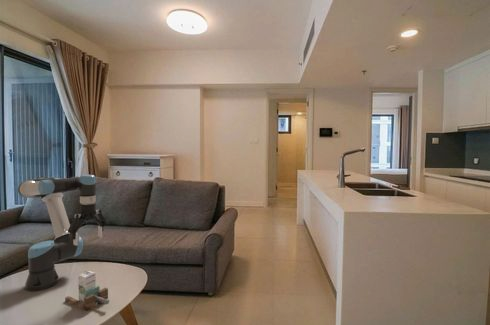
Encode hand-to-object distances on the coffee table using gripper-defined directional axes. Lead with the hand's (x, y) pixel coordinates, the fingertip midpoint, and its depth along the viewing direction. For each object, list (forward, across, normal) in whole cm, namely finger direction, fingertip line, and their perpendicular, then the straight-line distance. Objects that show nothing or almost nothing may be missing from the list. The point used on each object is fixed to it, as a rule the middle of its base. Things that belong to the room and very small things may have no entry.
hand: (88, 241), depth 149 cm
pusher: (+25, -8, -23) cm, 35 cm away
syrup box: (+26, -9, -14) cm, 31 cm away
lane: (+26, -9, -12) cm, 30 cm away
